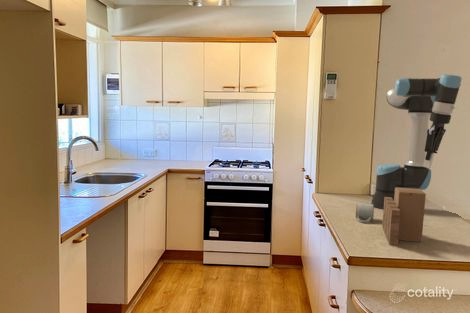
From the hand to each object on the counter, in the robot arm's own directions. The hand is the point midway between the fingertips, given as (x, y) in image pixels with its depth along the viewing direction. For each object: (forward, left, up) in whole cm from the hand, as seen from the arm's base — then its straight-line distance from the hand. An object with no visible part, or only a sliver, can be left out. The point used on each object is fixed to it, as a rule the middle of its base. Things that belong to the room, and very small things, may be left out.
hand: (426, 167), depth 166 cm
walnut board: (+17, -3, -29) cm, 34 cm away
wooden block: (+12, +2, -29) cm, 31 cm away
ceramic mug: (+8, -24, -29) cm, 38 cm away
